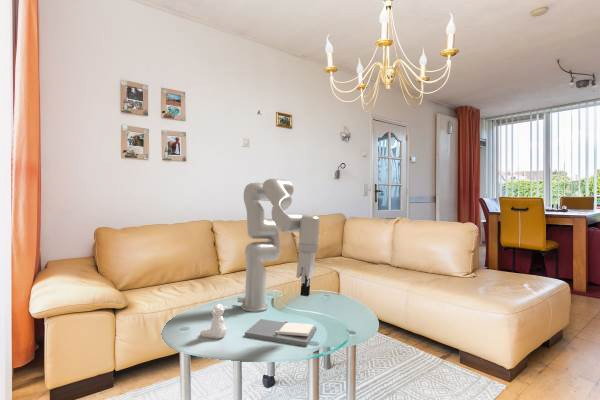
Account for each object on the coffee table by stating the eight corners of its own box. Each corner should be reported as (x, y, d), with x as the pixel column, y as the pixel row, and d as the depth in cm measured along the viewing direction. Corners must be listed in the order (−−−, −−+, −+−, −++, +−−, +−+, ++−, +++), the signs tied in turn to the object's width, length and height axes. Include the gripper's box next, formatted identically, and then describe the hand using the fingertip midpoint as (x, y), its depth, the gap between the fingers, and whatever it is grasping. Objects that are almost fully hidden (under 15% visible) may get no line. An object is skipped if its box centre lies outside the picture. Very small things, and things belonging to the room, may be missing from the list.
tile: (307, 333, 120) (307, 336, 120) (313, 324, 130) (313, 326, 130) (279, 331, 123) (279, 334, 123) (287, 322, 132) (287, 325, 132)
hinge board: (244, 336, 123) (245, 328, 123) (260, 322, 138) (261, 315, 139) (306, 346, 117) (307, 338, 117) (316, 330, 132) (316, 323, 132)
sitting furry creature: (220, 329, 129) (221, 298, 129) (234, 335, 124) (235, 303, 124) (199, 336, 122) (200, 303, 122) (212, 342, 116) (214, 308, 117)
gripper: (303, 244, 134) (300, 289, 134) (293, 249, 120) (289, 299, 120) (321, 246, 132) (318, 291, 132) (313, 251, 118) (309, 302, 118)
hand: (304, 295), depth 126 cm, fingers closed
